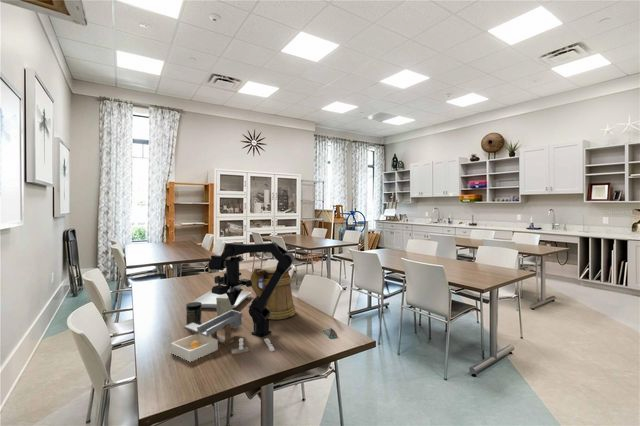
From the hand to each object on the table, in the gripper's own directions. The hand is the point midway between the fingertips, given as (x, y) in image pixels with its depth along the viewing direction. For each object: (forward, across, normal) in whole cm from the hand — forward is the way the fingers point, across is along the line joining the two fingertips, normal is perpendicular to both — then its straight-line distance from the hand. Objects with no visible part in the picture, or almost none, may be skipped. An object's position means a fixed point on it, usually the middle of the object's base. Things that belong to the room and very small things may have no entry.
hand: (232, 305), depth 142 cm
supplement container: (+12, +6, -20) cm, 24 cm away
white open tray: (+12, +22, +3) cm, 25 cm away
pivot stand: (+12, +9, +3) cm, 15 cm away
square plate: (+13, -25, -38) cm, 47 cm away
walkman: (+12, -48, -28) cm, 57 cm away
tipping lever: (+9, +9, -1) cm, 12 cm away
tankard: (+12, -27, 0) cm, 30 cm away
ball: (+10, +21, +3) cm, 23 cm away
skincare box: (+12, -6, -13) cm, 19 cm away
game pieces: (+13, -6, +26) cm, 30 cm away
